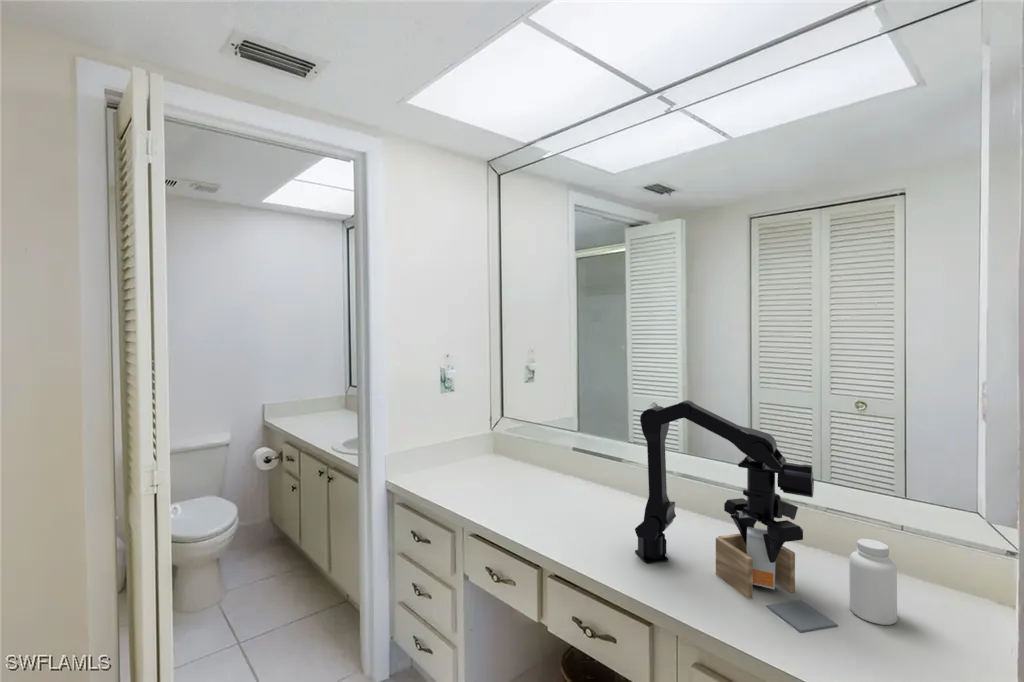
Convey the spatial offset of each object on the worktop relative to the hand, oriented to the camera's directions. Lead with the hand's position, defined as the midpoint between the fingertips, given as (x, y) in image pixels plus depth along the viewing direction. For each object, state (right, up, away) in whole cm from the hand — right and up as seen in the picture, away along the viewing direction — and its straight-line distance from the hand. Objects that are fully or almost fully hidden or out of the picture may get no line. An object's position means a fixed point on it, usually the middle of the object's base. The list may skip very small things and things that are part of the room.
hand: (760, 555), depth 110 cm
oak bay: (0, -8, +2) cm, 8 cm away
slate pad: (+3, -8, -11) cm, 14 cm away
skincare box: (0, -7, 0) cm, 7 cm away
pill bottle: (+18, -8, -11) cm, 22 cm away
